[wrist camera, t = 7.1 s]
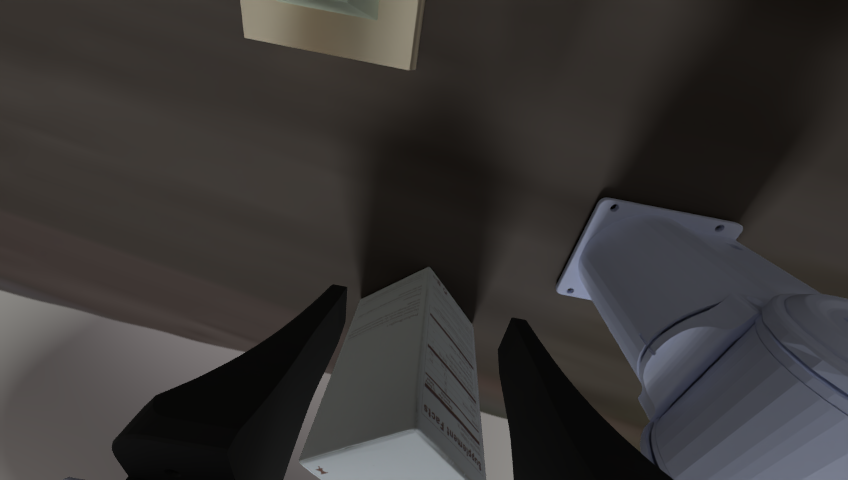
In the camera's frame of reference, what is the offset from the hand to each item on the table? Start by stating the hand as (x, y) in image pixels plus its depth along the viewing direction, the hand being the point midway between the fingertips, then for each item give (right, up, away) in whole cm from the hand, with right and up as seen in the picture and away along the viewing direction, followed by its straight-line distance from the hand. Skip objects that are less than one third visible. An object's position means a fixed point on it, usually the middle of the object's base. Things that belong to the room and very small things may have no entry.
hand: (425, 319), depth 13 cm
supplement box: (-1, -3, +13) cm, 14 cm away
